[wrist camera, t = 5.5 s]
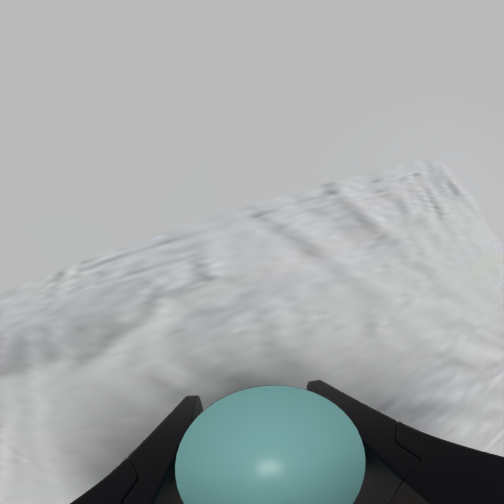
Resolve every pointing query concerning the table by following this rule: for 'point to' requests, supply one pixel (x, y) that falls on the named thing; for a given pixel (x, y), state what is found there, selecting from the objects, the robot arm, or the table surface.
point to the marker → (271, 451)
